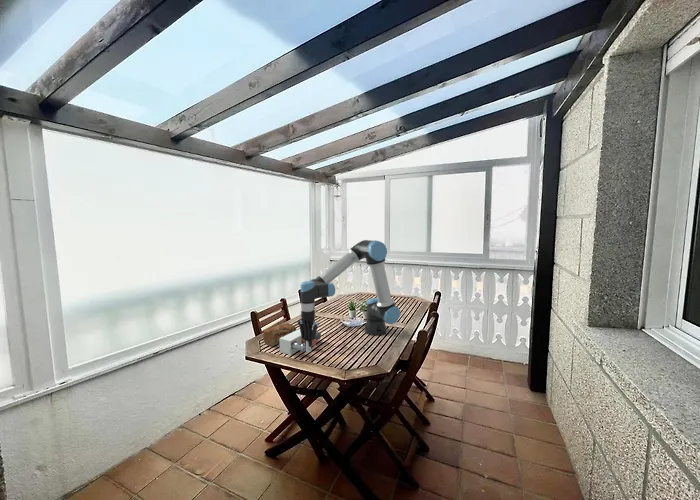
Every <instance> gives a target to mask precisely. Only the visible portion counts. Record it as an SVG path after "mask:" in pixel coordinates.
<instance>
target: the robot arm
mask: <svg viewBox="0 0 700 500" xmlns="http://www.w3.org/2000/svg"><path fill="white" fill-rule="evenodd" d="M386 246H387V245H385V243H383V242H382V241H380V240H369V239H364V240H363V239H362V240H361V241H359V242H357V243H356V244H354V245H353V246H352V247H350V248H349V249H348V250H347V253H346V254H345V255H343V256H342V257H340V258H339V259H338V260H337V261H336V262H334V263H333V264H332V265H331V266H330V267H328V268H327V269H326V270H325V271H323V272H322V273H321V274H319V275H318V276H317V277H316V278H312V279H310V280H305V281H302V282H301V283H300V316H301V319H300V320H298V321H297V324H298V327H299V329H300V332H301V337H302V339H304V340H305V346H306V351H305V353H307V354H309V353H310V352H312V347H313V346H312V341H313V340H314V339H315V337H316V333H317V332H318V327H319V326H320V325H319V324H320V323H317V322H316V319H315V316H316V311H315V309H316V307H315V305H316V300H315V299H320V298H322V299H323V298H329V297H333V296H335V294H336V286H335V284H334V283H333V282H332V281H334V280H335V279H337V277H339V276H340V275H341V274H343V272H345V271H346V270H347V269H348V268H350V267H351V266H352V265H353V264H355V263H359V261H361V260H366V264H367V266H369V267H370V272H371V277H372V279H373V285H374V288H375V289H374V290H375V294H376V297H372V298H368V299H367V301H366V323H365V325H364V330H363V331H364V333H365V334H367V335H369V336H382V335H385V334H387V326H386V324H388V325H393V324H395V323H397V322H398V321H399V319H400V317H401V309H400V308H399V307H398V306H397V305H396V302H395V299H394V298H392V295H391V292H390V286H389V281H388V276H387V272H386V269H385V262H386V258H387V255H388V248H387V247H386ZM312 328H313V330H312Z"/></svg>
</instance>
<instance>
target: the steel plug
mask: <svg viewBox="0 0 700 500" xmlns="http://www.w3.org/2000/svg"><path fill="white" fill-rule="evenodd" d="M291 348H293V349H297V350H298V351H300V352H301V353H306V346H305V343H303V344H301V343H297V342H292V343H291Z"/></svg>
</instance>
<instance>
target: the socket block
mask: <svg viewBox="0 0 700 500" xmlns="http://www.w3.org/2000/svg"><path fill="white" fill-rule="evenodd" d="M312 330H313V328H312ZM279 340H280V344H279V352H280V353H281V354H285V355H290V356H291V355H293V354H294V353H296V352H299V350H297V349H293V348H291V343H292V342H297V343H301V332H300V328H299V329H296V331H294V332H292V333H290V334H288V335H286V336H284V337H281V338H279ZM301 344H303V343H301Z"/></svg>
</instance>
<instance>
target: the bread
mask: <svg viewBox="0 0 700 500" xmlns="http://www.w3.org/2000/svg"><path fill="white" fill-rule="evenodd" d="M296 330H297V327H296V326H295V325H293V324H292V323H282V324H278V325H273V326H271V327H268V328H266V329H265V330H264V331H263V335H262V336H263V337H262V338H263V343H265V344H266V345H268V346H270V347H276V346H277V345H278V346H280V340H279V338H281V337H284V336H286V335H288V334H290V333H292V332H294V331H296Z"/></svg>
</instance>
